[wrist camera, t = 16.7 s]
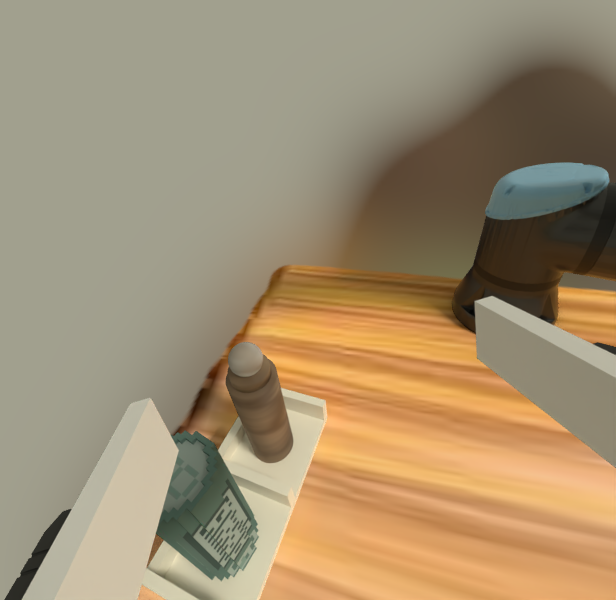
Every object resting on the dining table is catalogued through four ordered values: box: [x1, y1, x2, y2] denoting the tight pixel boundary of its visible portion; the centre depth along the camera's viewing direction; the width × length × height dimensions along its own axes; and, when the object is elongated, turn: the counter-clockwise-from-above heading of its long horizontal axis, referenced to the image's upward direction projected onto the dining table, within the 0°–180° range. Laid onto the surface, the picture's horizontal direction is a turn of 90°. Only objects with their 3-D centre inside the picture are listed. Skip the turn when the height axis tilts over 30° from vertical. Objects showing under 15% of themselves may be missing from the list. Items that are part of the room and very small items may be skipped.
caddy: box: [142, 388, 327, 600], centre depth 35 cm, size 22×10×4 cm, turn 158°
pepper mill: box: [226, 342, 293, 463], centre depth 34 cm, size 5×5×17 cm
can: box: [156, 431, 259, 582], centre depth 27 cm, size 6×6×15 cm
